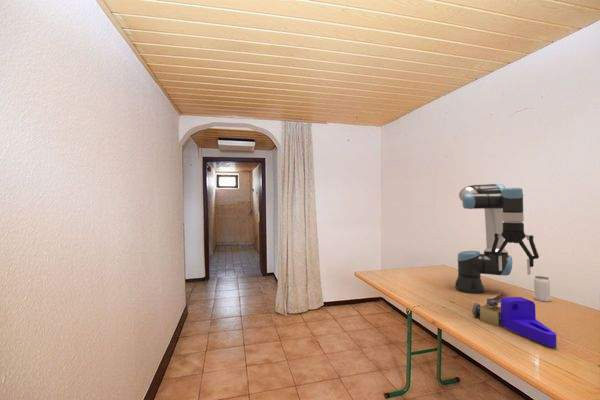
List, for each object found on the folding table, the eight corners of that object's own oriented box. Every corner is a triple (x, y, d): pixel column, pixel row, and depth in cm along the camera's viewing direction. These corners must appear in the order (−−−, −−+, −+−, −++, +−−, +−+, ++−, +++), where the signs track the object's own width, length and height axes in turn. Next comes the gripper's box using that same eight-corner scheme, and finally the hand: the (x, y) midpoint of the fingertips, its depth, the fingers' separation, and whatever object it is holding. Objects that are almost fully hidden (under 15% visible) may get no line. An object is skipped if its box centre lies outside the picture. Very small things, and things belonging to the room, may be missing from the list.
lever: (495, 306, 117) (495, 302, 117) (485, 303, 120) (485, 299, 120) (509, 299, 126) (509, 295, 126) (499, 297, 129) (499, 293, 129)
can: (553, 302, 142) (553, 279, 142) (539, 301, 143) (538, 278, 143) (545, 298, 148) (544, 276, 148) (531, 297, 149) (531, 275, 150)
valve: (471, 318, 124) (471, 302, 124) (478, 314, 127) (478, 298, 128) (508, 329, 112) (507, 311, 112) (515, 325, 116) (514, 308, 116)
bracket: (501, 325, 115) (500, 297, 115) (526, 324, 115) (525, 296, 115) (539, 347, 97) (538, 314, 97) (569, 346, 97) (568, 313, 97)
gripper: (546, 222, 116) (548, 275, 115) (485, 220, 132) (487, 266, 131) (545, 223, 110) (547, 278, 110) (481, 221, 126) (483, 269, 126)
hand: (514, 272), depth 121 cm, fingers open, 9 cm apart
